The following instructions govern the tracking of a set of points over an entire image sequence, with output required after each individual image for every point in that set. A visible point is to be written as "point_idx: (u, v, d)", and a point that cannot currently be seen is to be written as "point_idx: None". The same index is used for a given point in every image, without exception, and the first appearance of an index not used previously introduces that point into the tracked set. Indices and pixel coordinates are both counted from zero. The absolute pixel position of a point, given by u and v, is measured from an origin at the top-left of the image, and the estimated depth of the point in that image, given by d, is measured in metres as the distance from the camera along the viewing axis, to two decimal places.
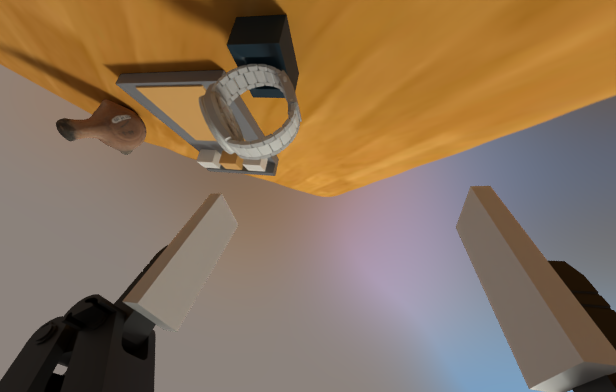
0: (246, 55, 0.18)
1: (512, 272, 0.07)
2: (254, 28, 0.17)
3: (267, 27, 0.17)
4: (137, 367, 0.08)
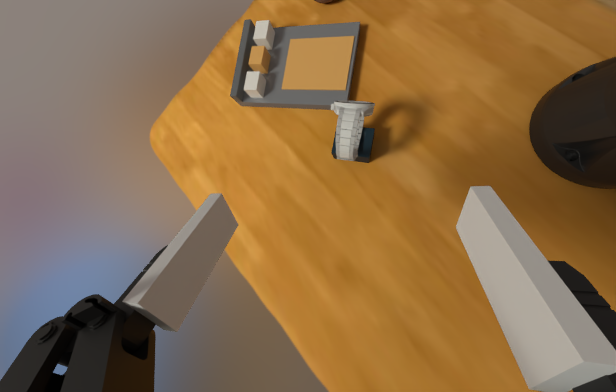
0: (366, 136, 0.31)
1: (512, 272, 0.07)
2: None
3: (370, 152, 0.33)
4: (137, 367, 0.08)
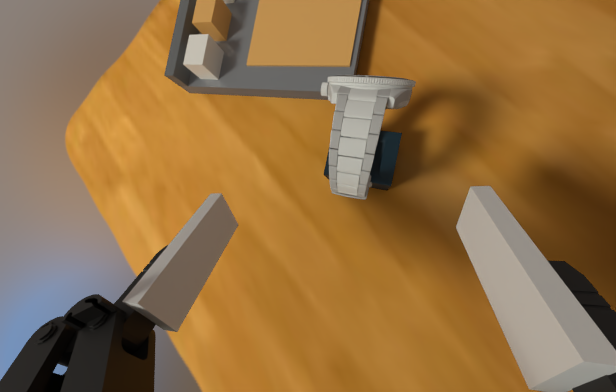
0: (386, 147, 0.17)
1: (512, 272, 0.07)
2: None
3: None
4: (137, 367, 0.08)
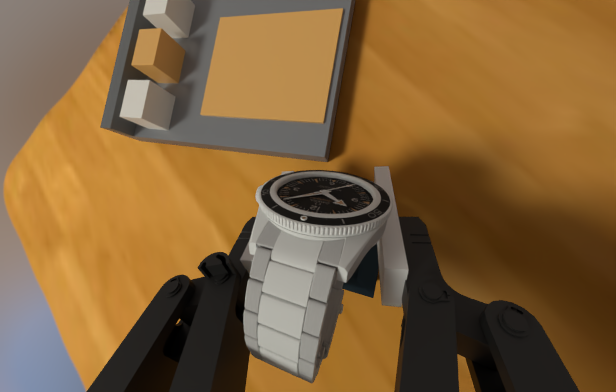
0: None
1: None
2: None
3: None
4: (242, 334, 0.08)
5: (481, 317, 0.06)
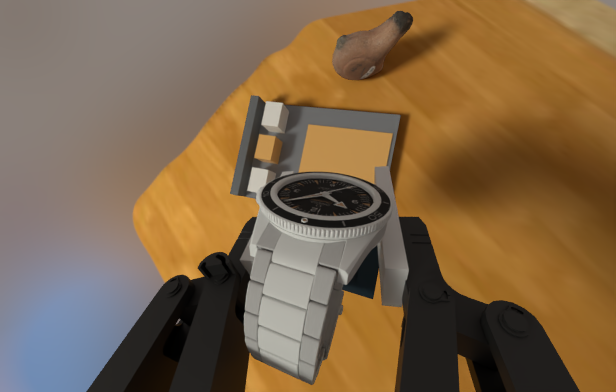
0: None
1: None
2: None
3: None
4: (241, 334, 0.08)
5: (481, 317, 0.06)
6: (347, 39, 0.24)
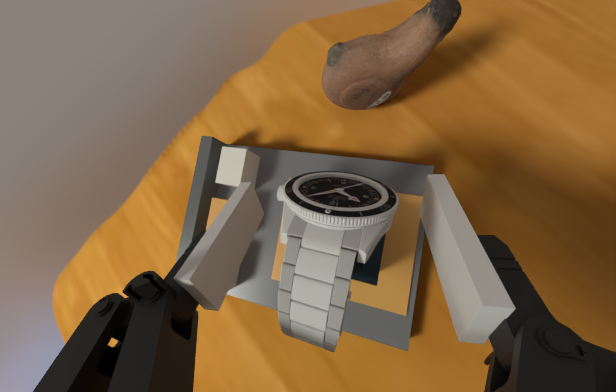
0: None
1: (449, 244, 0.08)
2: None
3: None
4: (182, 347, 0.08)
5: None
6: (345, 49, 0.14)
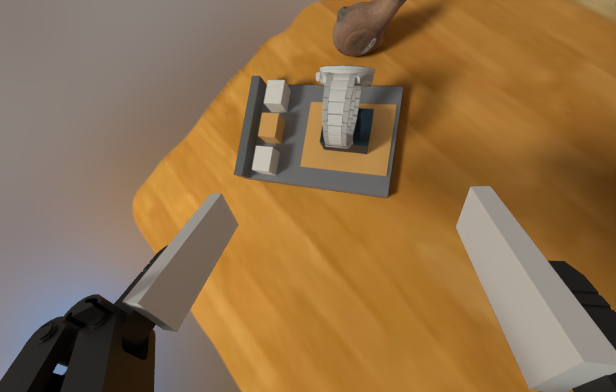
0: (363, 119, 0.24)
1: (512, 272, 0.07)
2: (370, 131, 0.26)
3: None
4: (137, 367, 0.08)
5: None
6: (348, 10, 0.24)
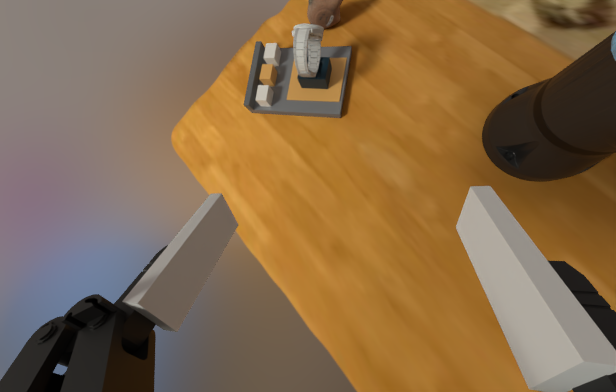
0: (323, 63, 0.40)
1: (512, 272, 0.07)
2: (329, 73, 0.41)
3: (328, 78, 0.41)
4: (137, 367, 0.08)
5: None
6: None
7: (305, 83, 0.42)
